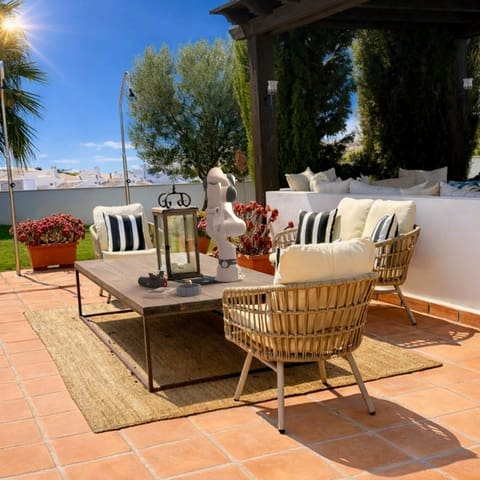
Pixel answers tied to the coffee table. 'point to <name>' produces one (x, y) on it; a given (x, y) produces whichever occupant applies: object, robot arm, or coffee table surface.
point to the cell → (188, 284)
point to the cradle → (159, 292)
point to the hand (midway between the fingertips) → (216, 232)
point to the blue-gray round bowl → (188, 290)
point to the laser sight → (153, 280)
